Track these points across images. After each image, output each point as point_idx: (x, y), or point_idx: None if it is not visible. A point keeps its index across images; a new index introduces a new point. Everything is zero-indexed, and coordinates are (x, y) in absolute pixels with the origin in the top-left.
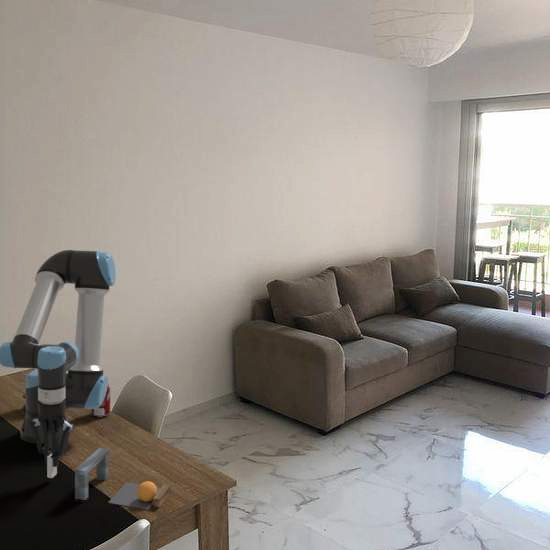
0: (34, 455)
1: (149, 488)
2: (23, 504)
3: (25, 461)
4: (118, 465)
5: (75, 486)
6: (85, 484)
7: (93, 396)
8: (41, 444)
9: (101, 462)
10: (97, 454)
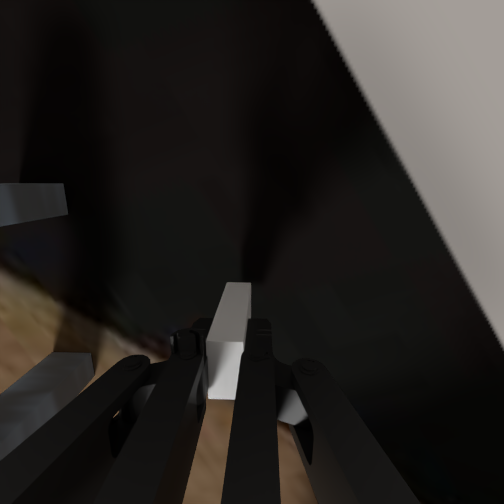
0: (421, 448)
1: None
2: (249, 73)
3: (434, 402)
4: None
5: (4, 184)
6: None
7: None
8: (314, 428)
9: (2, 411)
10: None
